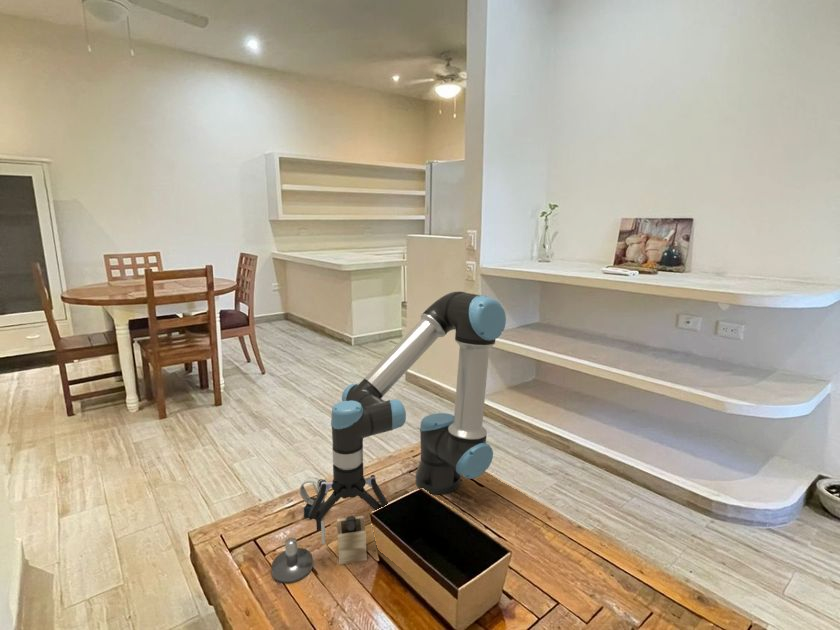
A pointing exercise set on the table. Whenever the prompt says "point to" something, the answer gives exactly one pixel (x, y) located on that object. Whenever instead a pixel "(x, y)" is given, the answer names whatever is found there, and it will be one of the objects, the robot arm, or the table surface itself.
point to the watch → (306, 498)
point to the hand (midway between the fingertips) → (350, 537)
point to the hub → (292, 563)
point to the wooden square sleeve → (351, 541)
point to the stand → (350, 524)
